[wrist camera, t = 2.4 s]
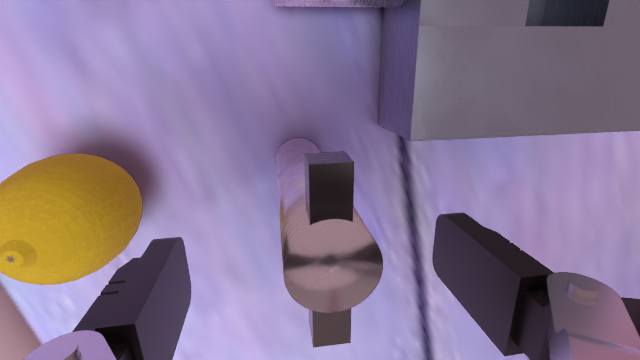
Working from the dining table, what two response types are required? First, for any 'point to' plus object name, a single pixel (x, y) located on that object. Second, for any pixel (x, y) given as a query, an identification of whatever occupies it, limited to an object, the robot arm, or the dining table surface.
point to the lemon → (66, 218)
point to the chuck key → (323, 238)
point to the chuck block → (505, 66)
